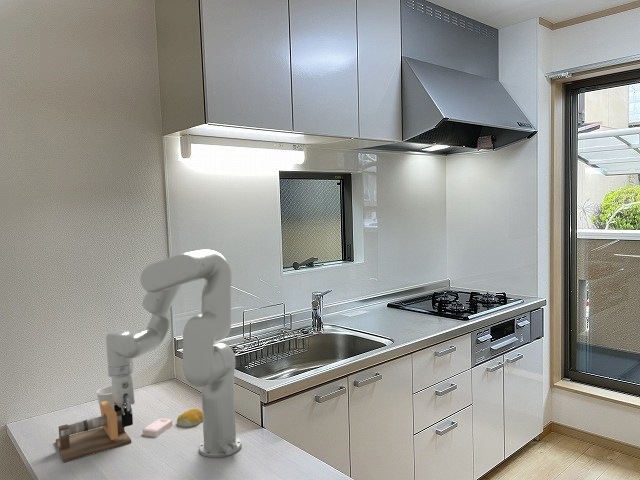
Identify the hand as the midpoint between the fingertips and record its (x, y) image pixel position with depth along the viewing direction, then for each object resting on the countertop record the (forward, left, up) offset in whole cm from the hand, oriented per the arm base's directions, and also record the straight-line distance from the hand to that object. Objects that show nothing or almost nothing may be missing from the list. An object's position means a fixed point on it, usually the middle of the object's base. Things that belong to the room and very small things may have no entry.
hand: (123, 420), depth 161 cm
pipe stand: (0, +9, -4) cm, 10 cm away
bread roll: (-5, -20, -5) cm, 22 cm away
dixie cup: (+17, 0, -5) cm, 18 cm away
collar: (0, +4, -2) cm, 5 cm away
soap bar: (-4, -10, -5) cm, 12 cm away
